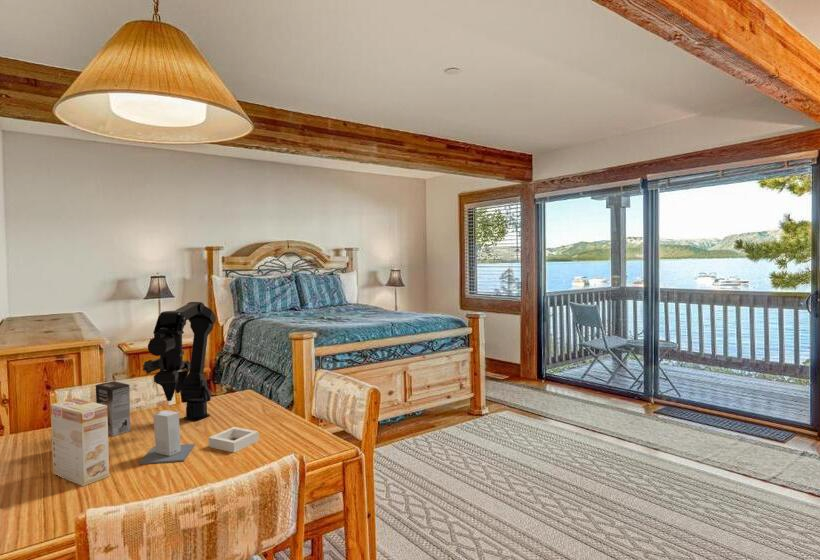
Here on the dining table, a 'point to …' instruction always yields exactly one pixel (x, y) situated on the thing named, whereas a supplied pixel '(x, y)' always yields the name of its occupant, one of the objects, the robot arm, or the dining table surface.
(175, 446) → the skincare box
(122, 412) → the coffee box
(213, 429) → the dining table surface
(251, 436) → the white square frame
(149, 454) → the mat
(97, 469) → the coffeecake box
